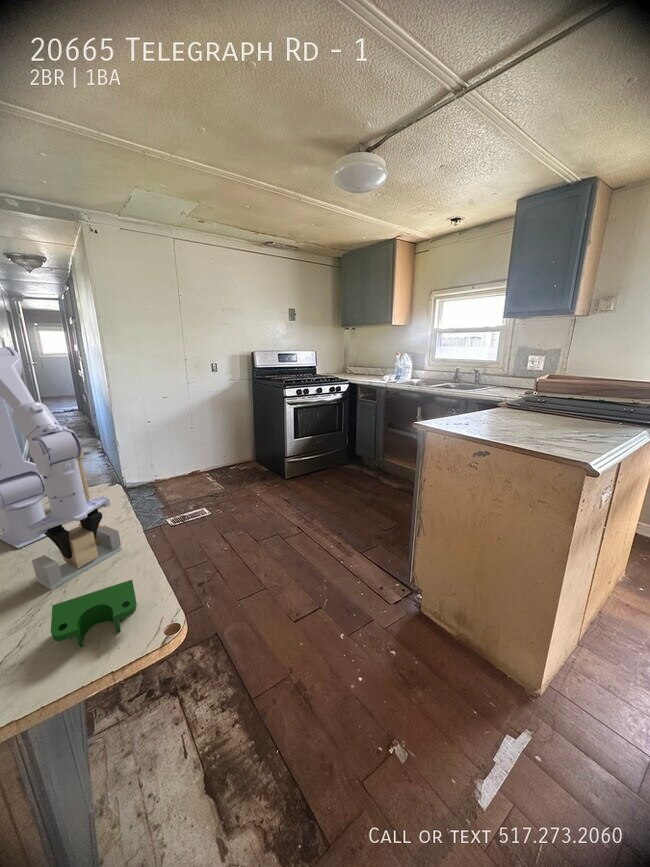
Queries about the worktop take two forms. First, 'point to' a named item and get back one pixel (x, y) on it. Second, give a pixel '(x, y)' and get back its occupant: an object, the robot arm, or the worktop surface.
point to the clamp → (92, 611)
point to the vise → (65, 568)
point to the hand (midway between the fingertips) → (79, 550)
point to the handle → (83, 476)
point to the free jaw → (107, 537)
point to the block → (81, 547)
